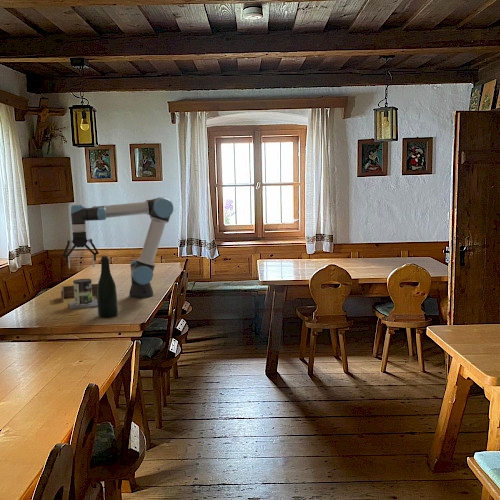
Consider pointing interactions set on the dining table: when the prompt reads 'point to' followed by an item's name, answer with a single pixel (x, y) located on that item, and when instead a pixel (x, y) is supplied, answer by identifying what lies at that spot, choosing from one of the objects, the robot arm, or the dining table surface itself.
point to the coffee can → (83, 291)
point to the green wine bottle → (106, 292)
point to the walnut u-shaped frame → (69, 291)
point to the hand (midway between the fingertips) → (81, 267)
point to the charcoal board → (73, 306)
